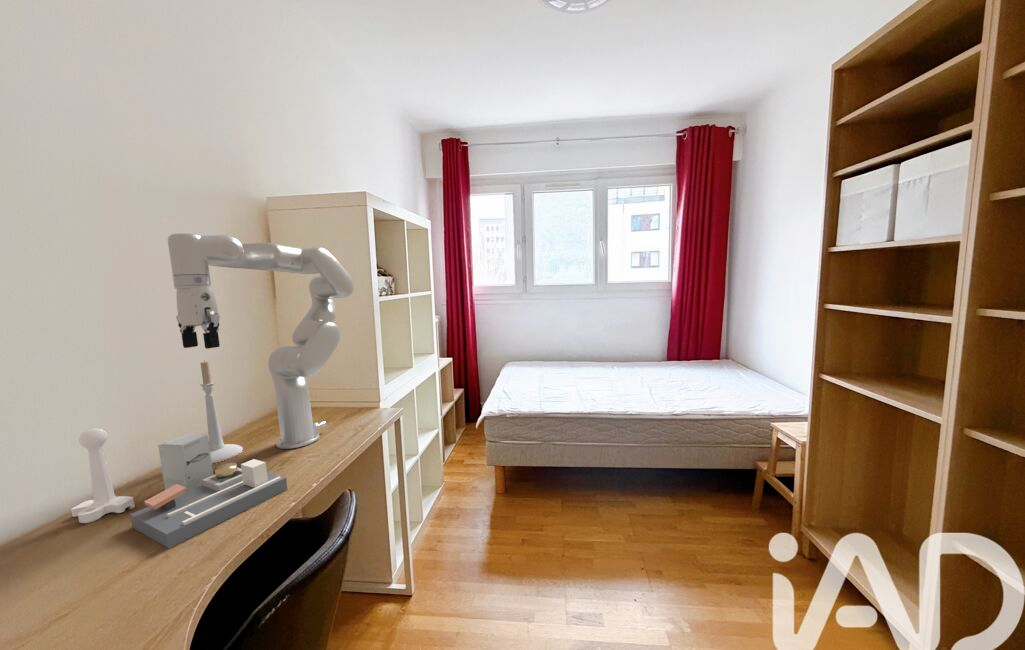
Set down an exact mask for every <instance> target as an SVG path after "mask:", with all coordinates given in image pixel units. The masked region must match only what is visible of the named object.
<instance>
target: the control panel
mask: <svg viewBox="0 0 1025 650" xmlns="http://www.w3.org/2000/svg"><path fill="white" fill-rule="evenodd" d="M237 469H238V472H237V474H235V475H233V476H231V477H228V478H224V479H217V478H216V474H215V473H214V474H213V476H210V477H208V478H205V479H203V480H202V481H203V484H202V485H200V486H198V487H195V488H193V489H190V490H188V491H187V492H186V493H184V494H182V495H180V496H179V497H177V498H175V499H173V500H171V501H170V502H168V503H166V504H164V505H163V506H161V507H159V508H157V509H155V510H154V509H152V508H150V507H148V506H146V507H145V508H142V509H140V510H136V511H135V512H132V513H129V516H130V522H131V527H132V529H134V530H136V531H138V532H140V533H141V534H142V535H144V536H147V537H148V538H150V539H152V540H153V541H155V542H157V543H159V545H162V546H164V547H165V548H167V549H171V548H173V547H175V546H178V545H179V544H181V543H183V542H185V541H187V540H189V539H191V538H193V537H195V536H197V535H199V534H201V533H204V532H205V531H207V530H209V529H211V528H213V527H215V526H217V525H219V524H220V523H223V522H224V521H227V520H229V519H230V518H233V517H236V516H237V515H239V514H241V513H243V512H245V511H246V510H249V509H251V508H252V507H255V506H257V505H260V504H261V503H263V502H266V501H267V500H268V499H270V498H271V499H272V498H273V497H276V494H277V495H279V494H281V493H283V492H284V490H285V491H287V490H288V482H287V477H284V476H282V475H279V474H275V473H272V472H269V471H267V477H268V482H266V483H264V484H262V485H260V486H258V487H255V488H254V487H251V486H248V485H245V484H243V477H242V469H241V467H238V466H237ZM286 489H287V490H286ZM282 491H283V492H282ZM280 492H281V493H280ZM278 493H279V494H278ZM272 496H273V497H272Z"/></svg>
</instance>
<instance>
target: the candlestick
mask: <svg viewBox="0 0 1025 650" xmlns="http://www.w3.org/2000/svg"><path fill="white" fill-rule="evenodd" d="M199 363H200V370H201V376H202V383H201V384H200V386H201V387H202V390H203V392H204V394H205V395H204V399H205V409H206V425H207V434H208V441H209V448H210V456H211V463H212V465H214V464H213V463H216V464H218V463H217V462H220V463H222V462H221V461H223V462H225V461H224V460H226V461H228V460H227V459H229V458H232V457H234V456H236V455H238V454H239V453H241V452H242V453H243V451H244V448H243V446H241V445H239V444H232V443H226V444H225V443H224V439H223V434H222V430H221V425H220V421H219V416H218V410H217V407H216V403H215V402H216V400H215V398H214V397H215V396H214V393H213V389H214V388H215V387H214V385H215V384H216V382H213V381H212V376H211V369H210V362H209V361H208V360H207V361H205V360H203V361H201V362H199ZM242 450H243V451H242ZM242 453H241V454H242ZM239 455H240V454H239ZM239 455H238V456H239ZM236 457H237V456H236ZM234 458H235V457H234ZM232 459H233V458H232ZM229 460H230V459H229Z"/></svg>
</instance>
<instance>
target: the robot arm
mask: <svg viewBox="0 0 1025 650" xmlns="http://www.w3.org/2000/svg"><path fill="white" fill-rule="evenodd" d="M167 245H168V253H169V259H170V266H171V273H172V281H173V287H174V290H175V289H176V291H175V292H176V293H175V294H176V309H177V315H176V317H175V318H176V321H177V323H178V327H179V333H180V334H181V339H182V340H181V341H182V347H183V348H185V349H188V348H189V349H190V348H196V347H198V346H199V345H198V344H199V343H198V335H197V331H195V329H196V327H201V328H202V330H203V331H204V332H203V333H202V335H203V341H204V348H205V349H215V348H219V347H220V346H221V345H220V337H219V331H220V329H219V327H220V319H221V316H220V315H219V311H218V310H219V309H218V303H217V300H216V296H215V293H214V290H213V287H212V283H211V276H210V267H209V266H211V267H219V268H228V269H229V268H230V269H243V270H244V269H245V270H254V271H270V272H278V273H279V272H280V273H281V272H282V273H290V274H295V275H296V274H298V275H311V274H313V275H315V274H320V275H316V276H314V277H312V278H311V280H310V282H309V286H308V289H309V293H310V298H311V306H310V309H309V310H308V312H307V313H306V314H305V315H304V316H303V318H302V319H301V321H300V322H299V323H298V324H297V326H296V327H295V328H294V330H293V332H292V335H291V339H292V342H293V344H294V345H288V346H287V345H284V346H280V347H277V348H275V349H274V350H273V351H272V352H271V353H270V355H269V357H268V361H267V362H268V364H267V367H268V370H269V373H270V375H271V376H270V377H271V378H272V382H273V386H274V387H273V388H274V393H275V402H276V410H277V418H278V425H279V433H280V437H279V438H278V439H277V440H276V442H275V446H276V448H278V449H280V450H281V449H283V450H284V449H285V450H287V449H290V450H291V449H296V448H301V447H304V446H308V445H311V444H312V443H314V442H316V441H317V440H319V439H320V433H319V430H320V429H323V428H325V427H327V425H328V424H327V422H326V421H321V422H319V423H318V421H316V422H313V415H312V407H311V406H312V405H311V396H310V387H309V383H308V380H307V378H311V377H314V376H315V375H317V374H318V373H319V372H320V371H322V369H323V368H324V366H326V365H325V364H326V363H327V362H328V360H329V359H330V357H331V356H332V355H333V352H334V351H335V350H336V348H337V346H338V345H339V343H340V338H341V332H340V331H341V330H340V328H339V326H338V325H337V324H336V323H334V321H335V319H336V316H337V309H336V305H335V301H334V299H343V298H347V297H349V296H351V295H352V293H353V291H354V289H355V285H354V280H353V278H352V276H351V275H350V274H349V272H348V271H347V270H346V269H345V268H344V267H343V265H342V264H341V263H340V262H339V260H338V259H337V258H336V257H335V256H334V255H333V254H332V253H331V252H330V251H329V250H328V249H326V248H324V247H321V246H316V247H308V248H307V247H306V248H303V247H297V246H290V245H285V244H278V243H274V242H256V243H254V242H253V243H241V241H239V240H238V239H237V238H235V237H233V236H232V235H227V234H219V235H218V234H215V235H200V234H197V233H173V234H172V233H171V234H170V235H169V236H168V238H167Z"/></svg>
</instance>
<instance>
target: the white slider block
mask: <svg viewBox="0 0 1025 650" xmlns="http://www.w3.org/2000/svg"><path fill="white" fill-rule="evenodd" d="M240 468H241V469H242V477H243V484H245V485H248V486H251V487H254V488H255V487H258V486H260V485H262V484H264V483H266V482H268V477H267V472H268V470H267V463H266V461H263V460H258V459H257V458H256V459H255V458H252V459H251V460H247V461H246V462H243V463H240Z"/></svg>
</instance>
